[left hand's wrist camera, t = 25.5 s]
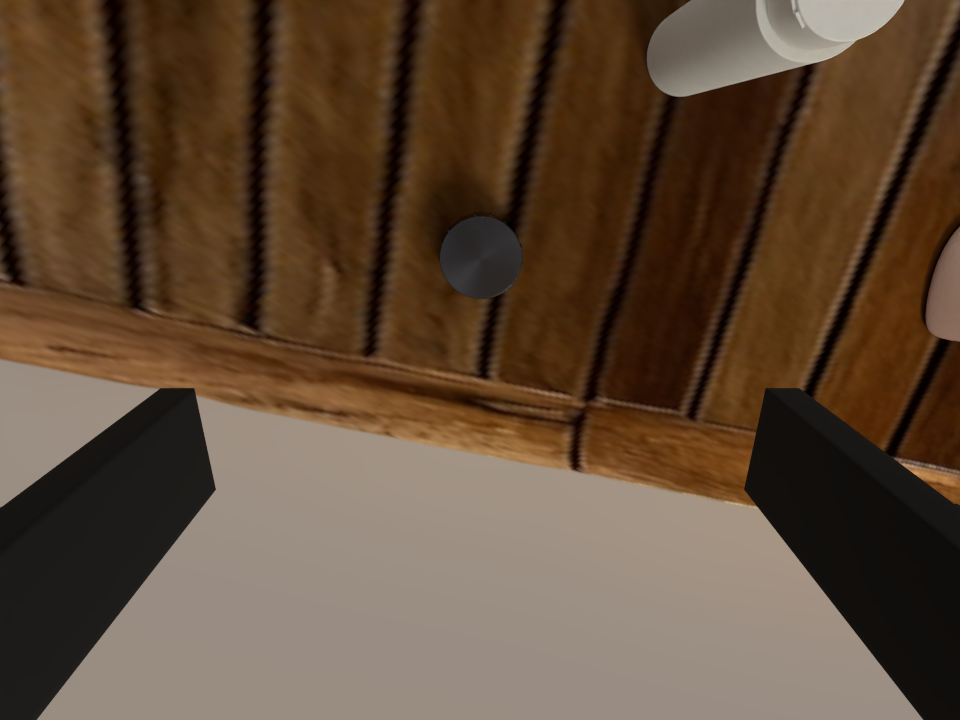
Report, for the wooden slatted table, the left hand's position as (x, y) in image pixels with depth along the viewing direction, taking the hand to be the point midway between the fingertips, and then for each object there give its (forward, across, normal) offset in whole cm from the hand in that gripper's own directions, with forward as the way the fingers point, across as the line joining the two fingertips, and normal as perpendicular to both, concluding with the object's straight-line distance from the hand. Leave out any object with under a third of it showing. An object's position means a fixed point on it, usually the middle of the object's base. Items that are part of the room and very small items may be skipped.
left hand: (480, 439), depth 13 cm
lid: (+25, 0, 0) cm, 25 cm away
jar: (+27, +13, +12) cm, 32 cm away
